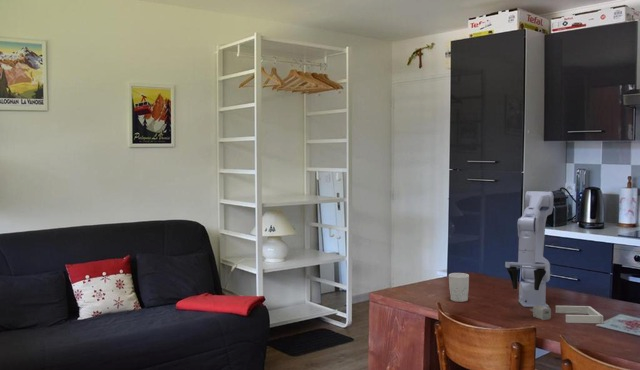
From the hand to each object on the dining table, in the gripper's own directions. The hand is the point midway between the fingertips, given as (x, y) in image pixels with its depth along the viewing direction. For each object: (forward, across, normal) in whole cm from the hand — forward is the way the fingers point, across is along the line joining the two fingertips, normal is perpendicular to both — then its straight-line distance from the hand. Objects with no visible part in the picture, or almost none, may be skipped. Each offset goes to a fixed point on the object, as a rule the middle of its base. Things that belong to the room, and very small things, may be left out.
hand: (525, 289), depth 202 cm
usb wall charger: (+10, +6, +3) cm, 12 cm away
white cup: (+8, -16, +28) cm, 33 cm away
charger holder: (+9, +19, +1) cm, 21 cm away
